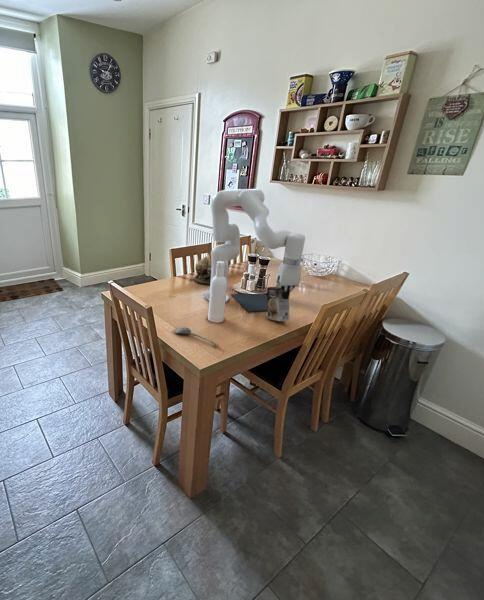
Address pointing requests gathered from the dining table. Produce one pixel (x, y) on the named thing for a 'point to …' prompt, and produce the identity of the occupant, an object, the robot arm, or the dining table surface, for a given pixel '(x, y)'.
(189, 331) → the soupspoon
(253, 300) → the mat
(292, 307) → the dining table surface
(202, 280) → the owl figurine
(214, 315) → the bottle
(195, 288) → the dining table surface
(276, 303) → the coffee box
